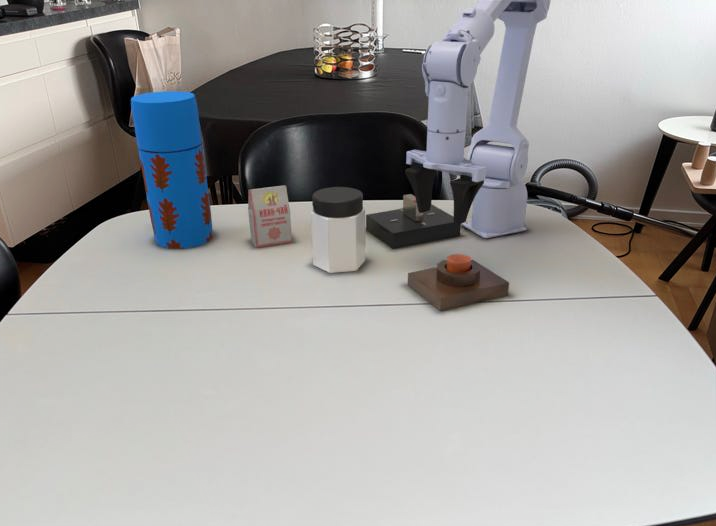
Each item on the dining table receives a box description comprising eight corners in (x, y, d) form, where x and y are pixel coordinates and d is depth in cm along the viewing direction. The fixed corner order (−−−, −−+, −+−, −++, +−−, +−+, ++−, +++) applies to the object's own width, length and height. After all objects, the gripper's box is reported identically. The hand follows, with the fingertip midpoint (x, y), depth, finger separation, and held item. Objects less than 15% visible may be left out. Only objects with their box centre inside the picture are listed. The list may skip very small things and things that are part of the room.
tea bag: (251, 240, 126) (245, 187, 121) (286, 235, 128) (282, 182, 123) (256, 247, 123) (250, 193, 118) (292, 242, 125) (288, 188, 120)
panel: (429, 218, 135) (430, 202, 133) (460, 236, 126) (461, 219, 124) (365, 229, 130) (365, 213, 128) (392, 249, 121) (393, 232, 120)
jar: (326, 251, 121) (324, 183, 115) (370, 256, 119) (370, 188, 112) (306, 270, 114) (302, 200, 108) (352, 276, 111) (351, 205, 105)
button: (461, 262, 107) (462, 252, 106) (474, 271, 104) (475, 260, 103) (442, 267, 105) (442, 256, 104) (454, 275, 102) (455, 264, 102)
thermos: (200, 250, 122) (179, 103, 109) (144, 247, 124) (117, 102, 111) (222, 229, 131) (205, 91, 118) (170, 226, 133) (148, 90, 120)
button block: (471, 271, 112) (473, 248, 110) (508, 295, 105) (510, 271, 102) (407, 285, 108) (408, 262, 106) (440, 311, 100) (441, 286, 98)
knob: (402, 213, 128) (403, 193, 126) (410, 212, 129) (410, 192, 127) (415, 222, 124) (416, 201, 122) (423, 220, 125) (424, 200, 123)
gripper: (393, 125, 105) (391, 211, 112) (466, 142, 95) (460, 234, 102) (424, 118, 109) (421, 202, 116) (498, 133, 99) (489, 223, 106)
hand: (441, 217), depth 109 cm, fingers open, 7 cm apart
